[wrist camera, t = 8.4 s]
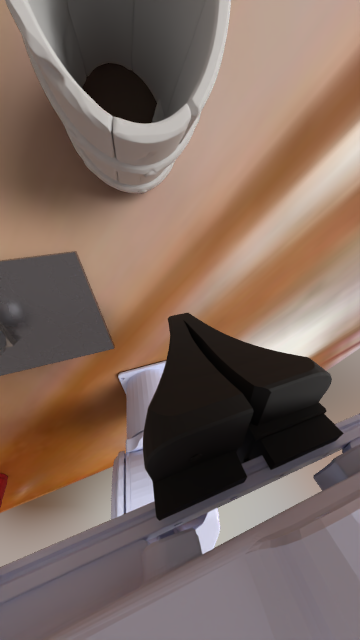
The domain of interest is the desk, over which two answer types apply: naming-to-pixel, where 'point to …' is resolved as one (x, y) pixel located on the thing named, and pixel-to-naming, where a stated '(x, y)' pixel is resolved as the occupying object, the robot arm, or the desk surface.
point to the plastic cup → (2, 486)
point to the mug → (133, 53)
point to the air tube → (2, 343)
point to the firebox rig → (48, 312)
